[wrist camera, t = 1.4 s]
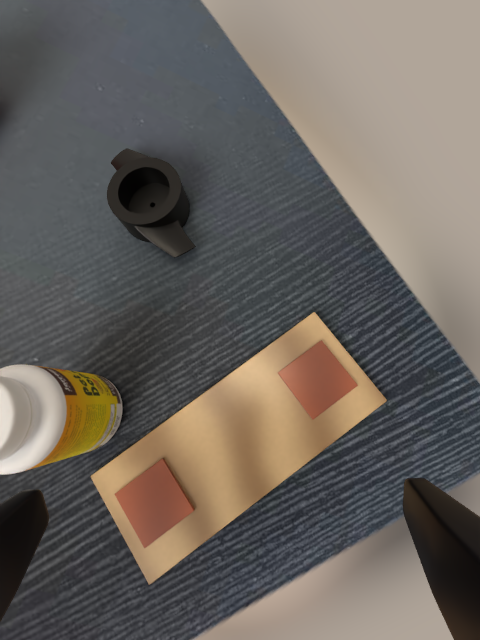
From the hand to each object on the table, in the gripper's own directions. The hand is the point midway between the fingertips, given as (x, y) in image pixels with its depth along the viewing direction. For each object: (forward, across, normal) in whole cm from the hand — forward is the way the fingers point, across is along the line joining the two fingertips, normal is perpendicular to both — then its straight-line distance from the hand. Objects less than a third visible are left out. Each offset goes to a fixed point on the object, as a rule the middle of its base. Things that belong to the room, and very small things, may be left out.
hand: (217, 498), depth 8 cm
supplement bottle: (+15, +12, +6) cm, 20 cm away
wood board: (+14, +1, +8) cm, 16 cm away
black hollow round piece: (+23, +7, -8) cm, 25 cm away
